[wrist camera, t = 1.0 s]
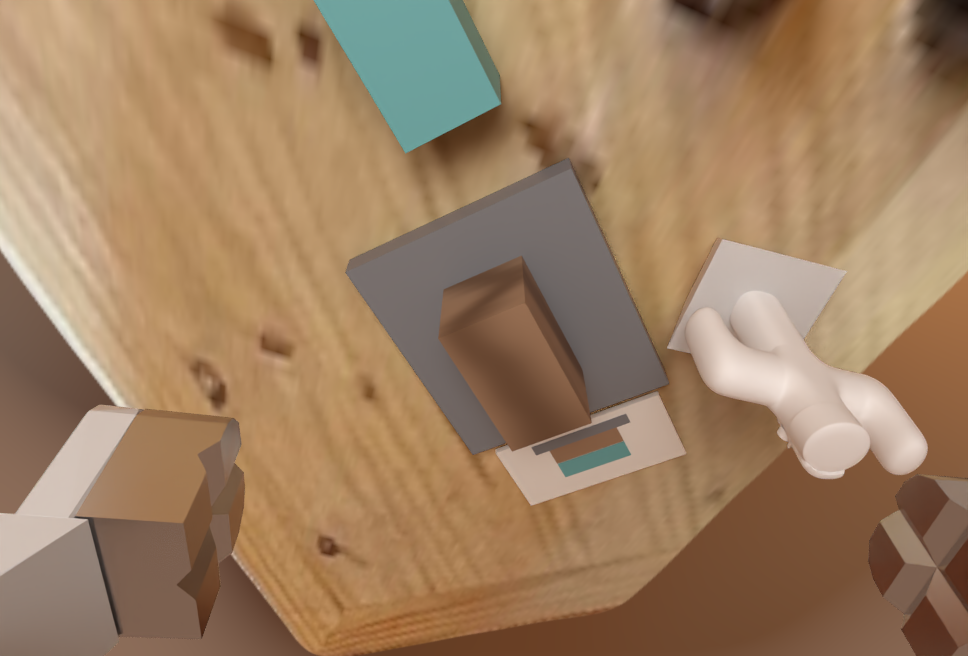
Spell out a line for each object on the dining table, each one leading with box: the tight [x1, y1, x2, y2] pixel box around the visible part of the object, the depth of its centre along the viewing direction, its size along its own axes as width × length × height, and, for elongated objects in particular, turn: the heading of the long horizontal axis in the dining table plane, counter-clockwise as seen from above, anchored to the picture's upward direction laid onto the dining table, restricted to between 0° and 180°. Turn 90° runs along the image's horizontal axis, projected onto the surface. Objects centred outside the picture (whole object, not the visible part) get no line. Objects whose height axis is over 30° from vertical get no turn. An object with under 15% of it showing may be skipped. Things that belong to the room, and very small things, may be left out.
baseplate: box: [345, 158, 669, 455], centre depth 43 cm, size 14×16×2 cm
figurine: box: [667, 238, 928, 479], centre depth 36 cm, size 7×9×15 cm
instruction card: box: [496, 391, 686, 506], centre depth 50 cm, size 12×6×1 cm, turn 117°
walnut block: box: [438, 256, 592, 452], centre depth 41 cm, size 5×9×5 cm, turn 27°
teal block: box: [314, 0, 501, 153], centre depth 32 cm, size 5×9×5 cm, turn 27°
